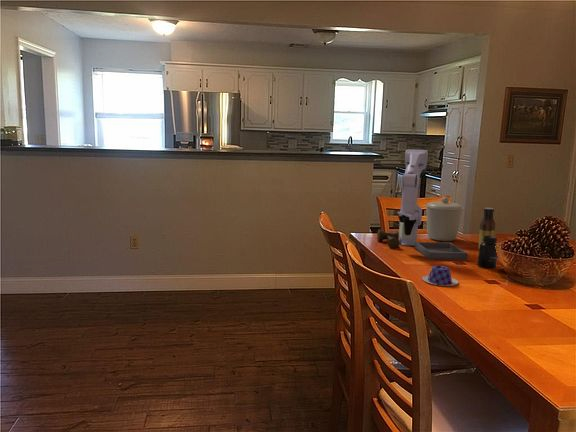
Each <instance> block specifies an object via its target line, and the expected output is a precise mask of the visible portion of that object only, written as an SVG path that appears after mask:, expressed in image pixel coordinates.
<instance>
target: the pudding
mask: <svg viewBox="0 0 576 432" xmlns="http://www.w3.org/2000/svg"><path fill="white" fill-rule="evenodd" d="M421 278H422V280H423V281H424V282H425V283H428V284H431V285H434V286H438V285H437V284H441V285H440V286H443V287H450V286H457V285H459V281H458V280H457V279H455V278H453V277H452V274H451V269H450V267H448V266H445V265H444V266H443V265H433V266H432V267H431V270H430V272H429V274H426V275H424V276H422V277H421ZM427 280H428V281H427ZM452 283H453V284H452Z"/></svg>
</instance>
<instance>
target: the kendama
mask: <svg viewBox="0 0 576 432" xmlns="http://www.w3.org/2000/svg"><path fill="white" fill-rule="evenodd" d="M376 240H377V242H379V243H380V242H382V241H385V240H386V243H387V246H388V248H390V249H397V248H399V246H400V243H399V230H394V231H391V232H385V231H383V230H382V229H378V230H377V233H376Z"/></svg>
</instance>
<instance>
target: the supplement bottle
mask: <svg viewBox="0 0 576 432" xmlns="http://www.w3.org/2000/svg"><path fill="white" fill-rule="evenodd" d="M483 241H484V242H482V243H481V244H480V248H478V258H477V266H478V267H480V268H483V269H487V270H488V269H489V270H495V269H496V268H497V264H498V257H499V256H497V253H496V249H495V246H496V245H498V244H497V243H498V237H497V236H495V237H494V236H484V238H483Z"/></svg>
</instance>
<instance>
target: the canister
mask: <svg viewBox="0 0 576 432" xmlns="http://www.w3.org/2000/svg"><path fill="white" fill-rule="evenodd" d="M440 200H441V201H430V202H428V203H427V204H425V205H424V206H425V208H426V232H427V236H428V238H429V239H431V240H434V241H436V242H438V241H439V242H452V241H454V240H456V238H457V236H458V232H459V228H460V225H461V220H462V215H463V210H465V207H464V206H463V205H462V204H459V203H456V202H449V201H450V199H449V197H448V196H443V197H441V199H440Z"/></svg>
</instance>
